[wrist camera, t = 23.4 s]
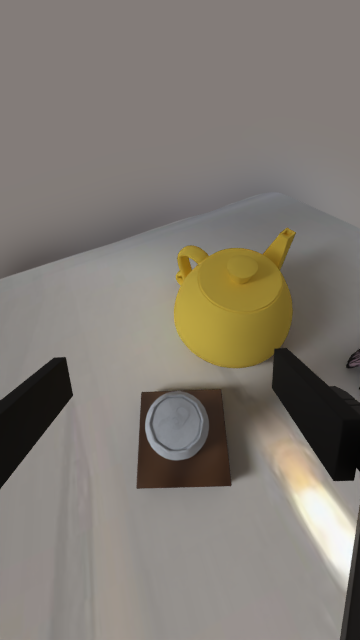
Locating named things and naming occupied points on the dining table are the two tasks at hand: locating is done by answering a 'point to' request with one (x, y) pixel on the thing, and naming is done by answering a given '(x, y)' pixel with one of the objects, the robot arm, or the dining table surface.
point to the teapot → (234, 303)
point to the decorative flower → (354, 360)
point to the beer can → (177, 425)
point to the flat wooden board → (192, 472)
